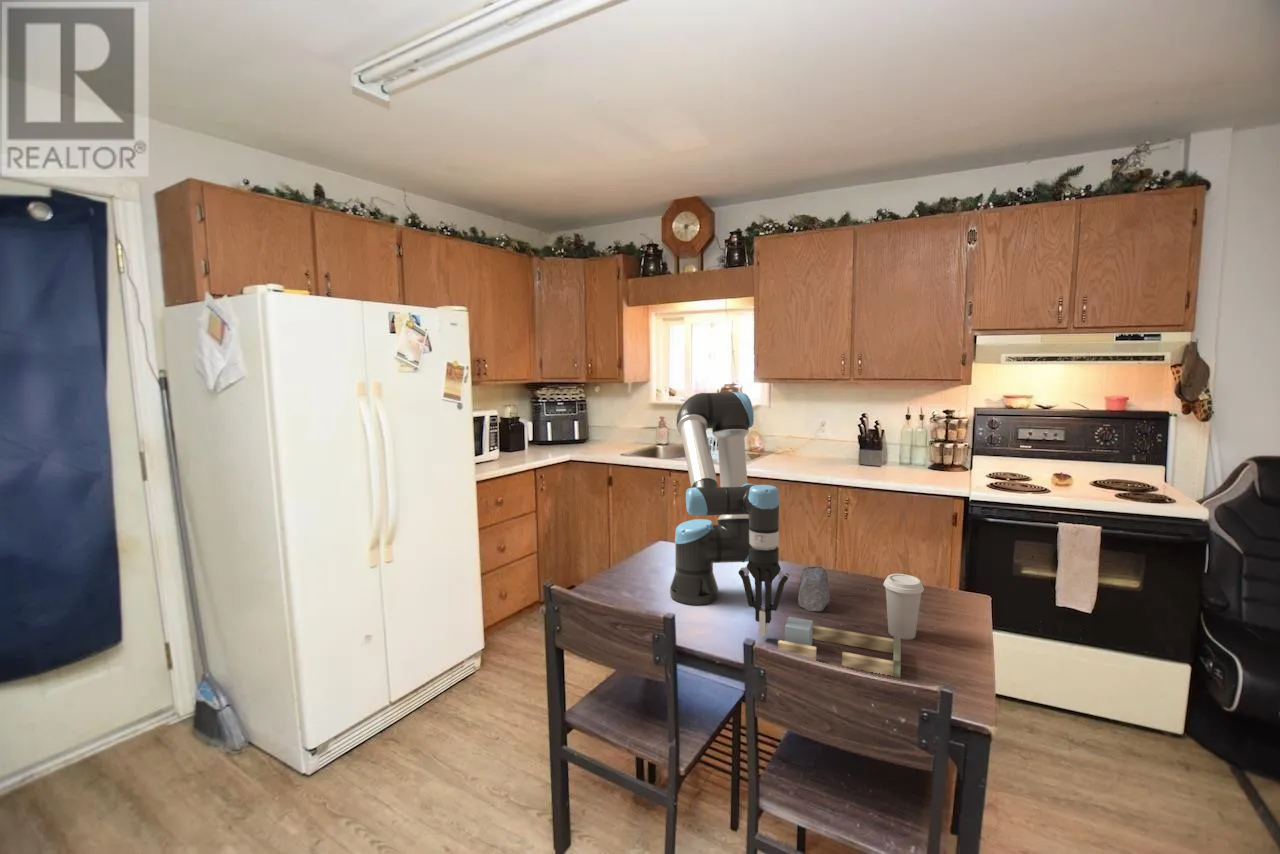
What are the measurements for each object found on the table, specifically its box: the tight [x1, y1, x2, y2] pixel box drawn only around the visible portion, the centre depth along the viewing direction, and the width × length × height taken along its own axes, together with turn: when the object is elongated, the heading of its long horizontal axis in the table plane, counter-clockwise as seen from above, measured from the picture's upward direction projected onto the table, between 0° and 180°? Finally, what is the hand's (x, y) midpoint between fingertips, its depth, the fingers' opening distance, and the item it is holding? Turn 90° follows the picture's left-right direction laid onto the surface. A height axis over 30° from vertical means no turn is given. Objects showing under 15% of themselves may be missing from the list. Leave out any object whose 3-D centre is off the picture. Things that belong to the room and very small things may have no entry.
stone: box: [797, 566, 831, 612], centre depth 166 cm, size 12×10×10 cm
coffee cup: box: [883, 573, 925, 641], centre depth 147 cm, size 10×10×15 cm
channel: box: [777, 624, 902, 678], centre depth 138 cm, size 28×13×4 cm, turn 65°
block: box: [784, 616, 814, 646], centre depth 142 cm, size 6×6×6 cm
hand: (763, 633), depth 146 cm, fingers closed
